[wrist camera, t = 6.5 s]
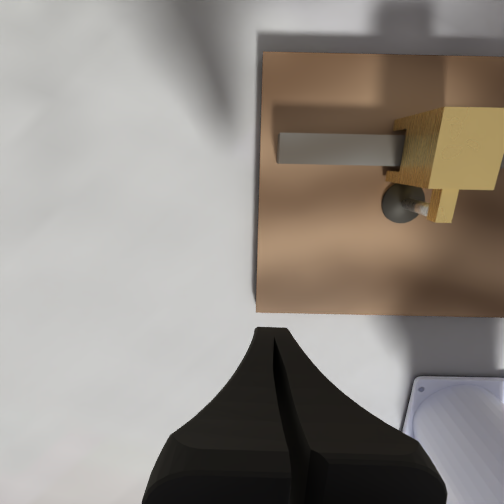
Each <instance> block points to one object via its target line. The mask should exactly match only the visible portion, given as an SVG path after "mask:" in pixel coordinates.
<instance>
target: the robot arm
mask: <svg viewBox="0 0 504 504" xmlns="http://www.w3.org/2000/svg"><path fill="white" fill-rule="evenodd" d="M420 387H421V388H420ZM142 504H504V378H489V377H440V376H419V377H417V378H416V379H415V380H414V384H413V388H412V392H411V397H410V401H409V405H408V410H407V414H406V418H405V423H404V427H403V431H402V432H401V431H399V430H397V429H395V428H394V427H392V426H390V425H388V424H387V423H385V422H383V421H382V420H380V419H379V418H377V417H376V416H374V415H372V414H371V413H369V412H368V411H367V410H365V409H364V408H362V407H361V406H359V405H358V404H357V403H355V402H354V401H353V400H352V399H350V398H349V397H348V396H346V395H345V394H344V393H343V392H342V391H340V390H339V389H338V388H337V387H336V386H335V385H334V384H333V383H331V382H330V381H329V380H328V379H327V378H326V377H325V376H324V375H323V374H322V373H321V372H320V371H319V369H318V368H317V367H316V366H315V365H314V364H313V363H312V361H311V360H310V359H309V358H308V357H307V355H306V354H305V353H304V351H303V350H302V349H301V347H300V346H299V345H298V343H297V342H296V340H295V339H294V338H293V336H292V334H291V333H290V331H289V330H288V329H287V328H276V327H257V328H256V329H255V331H254V336H253V339H252V341H251V344H250V346H249V348H248V350H247V352H246V355H245V356H244V358H243V360H242V362H241V363H240V365H239V367H238V368H237V370H236V371H235V373H234V374H233V376H232V377H231V378H230V380H229V381H228V382H227V384H226V385H225V386H224V387H223V389H222V390H221V391H220V392H219V393H218V394H217V395H216V397H215V398H214V399H213V400H212V401H211V402H210V403H209V404H208V405H207V406H205V407H204V408H203V409H202V410H201V411H200V412H199V413H198V414H197V415H196V416H195V417H193V418H192V419H191V420H190V421H189V422H187V423H186V424H185V425H183V426H182V427H181V428H179V429H178V430H177V431H175V432H174V433H172V434H171V435H170V436H169V438H168V440H167V442H166V443H165V445H164V447H163V449H162V451H161V453H160V455H159V457H158V459H157V461H156V463H155V466H154V468H153V470H152V472H151V475H150V478H149V481H148V484H147V487H146V490H145V493H144V496H143V499H142Z"/></svg>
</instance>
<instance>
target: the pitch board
mask: <svg viewBox="0 0 504 504" xmlns="http://www.w3.org/2000/svg"><path fill="white" fill-rule="evenodd" d="M441 107H489V108H504V57H490V56H444V55H398V54H352V53H306V52H263V61H262V98H261V135H260V171H259V208H258V245H257V282H256V312H260V313H308V314H356V315H404V316H452V317H500V318H504V154H503V158H502V162H501V165H500V169H499V173H498V176H497V180H496V184H495V188H494V190H462V189H459V192H458V197H457V201H456V205H455V210H454V214H453V218H452V223H435V222H432V221H429V220H427V219H426V218H427V216H424V215H421V214H418V213H415V212H412V211H409V210H406V209H404V208H403V207H402V202H403V200H404V199H406V198H412V199H416V200H420V201H423V202H427V203H430V199H431V194H432V189H427V188H421V187H415V186H410V185H404V184H399V183H393V182H388V181H385V179H386V172H387V171H400V165H401V159H402V154H403V148H404V142H405V136H406V131H393V127H394V121H395V120H396V119H400V118H404V117H407V116H411V115H415V114H419V113H422V112H426V111H430V110H434V109H437V108H441Z"/></svg>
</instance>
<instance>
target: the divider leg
mask: <svg viewBox="0 0 504 504" xmlns="http://www.w3.org/2000/svg"><path fill="white" fill-rule="evenodd" d="M393 131H406V136H405V142H404V148H403V154H402V159H401V165H400V171H387V172H386V179H385V181H388V182H393V183H399V184H404V185H410V186H415V187H421V188H427V189H432V194H431V199H430V203H427V202H423V201H420V200H416V199H412V198H406V199H404V200H403V202H402V207H403V208H404V209H406V210H409V211H412V212H415V213H418V214H421V215H424V216H427V218H426V219H427V220H429V221H432V222H435V223H452V218H453V214H454V210H455V205H456V201H457V197H458V192H459V189H462V190H494V188H495V184H496V180H497V176H498V173H499V169H500V165H501V162H502V158H503V154H504V108H489V107H441V108H437V109H434V110H430V111H426V112H422V113H419V114H415V115H411V116H407V117H404V118H400V119H396V120H395V121H394V127H393Z"/></svg>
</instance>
